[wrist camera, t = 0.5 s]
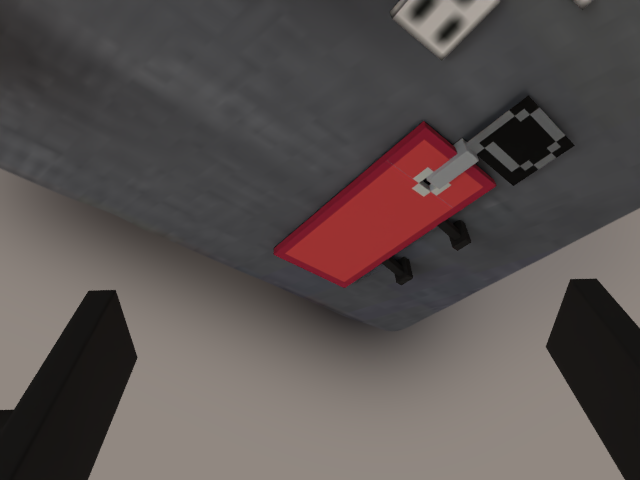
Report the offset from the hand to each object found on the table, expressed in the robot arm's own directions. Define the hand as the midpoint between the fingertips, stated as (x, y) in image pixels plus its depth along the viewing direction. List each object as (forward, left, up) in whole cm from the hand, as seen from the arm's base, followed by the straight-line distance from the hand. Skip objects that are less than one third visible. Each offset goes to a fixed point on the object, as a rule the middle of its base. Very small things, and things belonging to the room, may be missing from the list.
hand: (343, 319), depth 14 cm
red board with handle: (+13, +22, -28) cm, 37 cm away
